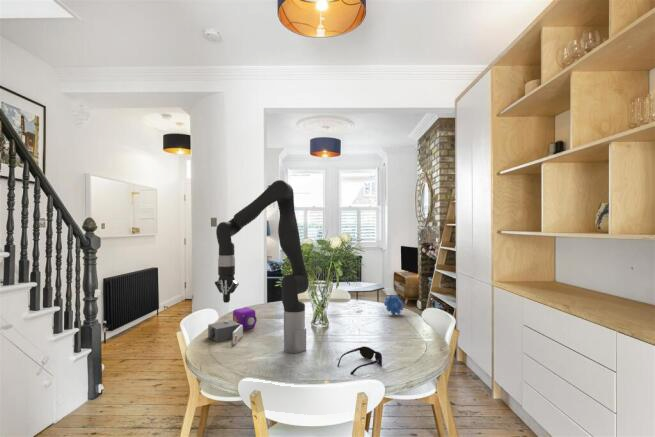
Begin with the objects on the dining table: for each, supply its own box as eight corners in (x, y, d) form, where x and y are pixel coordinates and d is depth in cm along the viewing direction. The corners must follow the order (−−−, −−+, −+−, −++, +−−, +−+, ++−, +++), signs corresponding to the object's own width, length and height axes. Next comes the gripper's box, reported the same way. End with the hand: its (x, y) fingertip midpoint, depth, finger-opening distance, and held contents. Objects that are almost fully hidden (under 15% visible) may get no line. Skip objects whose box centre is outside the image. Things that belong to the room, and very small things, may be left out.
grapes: (385, 316, 206) (385, 296, 206) (383, 313, 213) (383, 293, 213) (405, 316, 206) (404, 296, 206) (402, 313, 213) (402, 293, 213)
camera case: (240, 336, 170) (240, 322, 170) (214, 342, 161) (214, 328, 161) (231, 331, 177) (231, 318, 177) (205, 337, 168) (205, 323, 168)
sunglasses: (387, 367, 134) (387, 354, 134) (355, 378, 125) (355, 364, 125) (363, 356, 145) (363, 344, 145) (333, 365, 136) (333, 352, 136)
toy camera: (246, 332, 175) (246, 313, 176) (229, 328, 184) (229, 309, 184) (262, 327, 184) (262, 308, 184) (245, 323, 192) (245, 305, 192)
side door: (243, 335, 170) (243, 324, 170) (236, 344, 158) (236, 332, 158) (240, 335, 170) (240, 324, 170) (232, 344, 158) (232, 332, 158)
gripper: (243, 264, 162) (243, 302, 162) (221, 263, 168) (221, 299, 167) (232, 266, 155) (232, 305, 155) (209, 265, 161) (209, 302, 161)
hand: (226, 302), depth 161 cm, fingers closed
